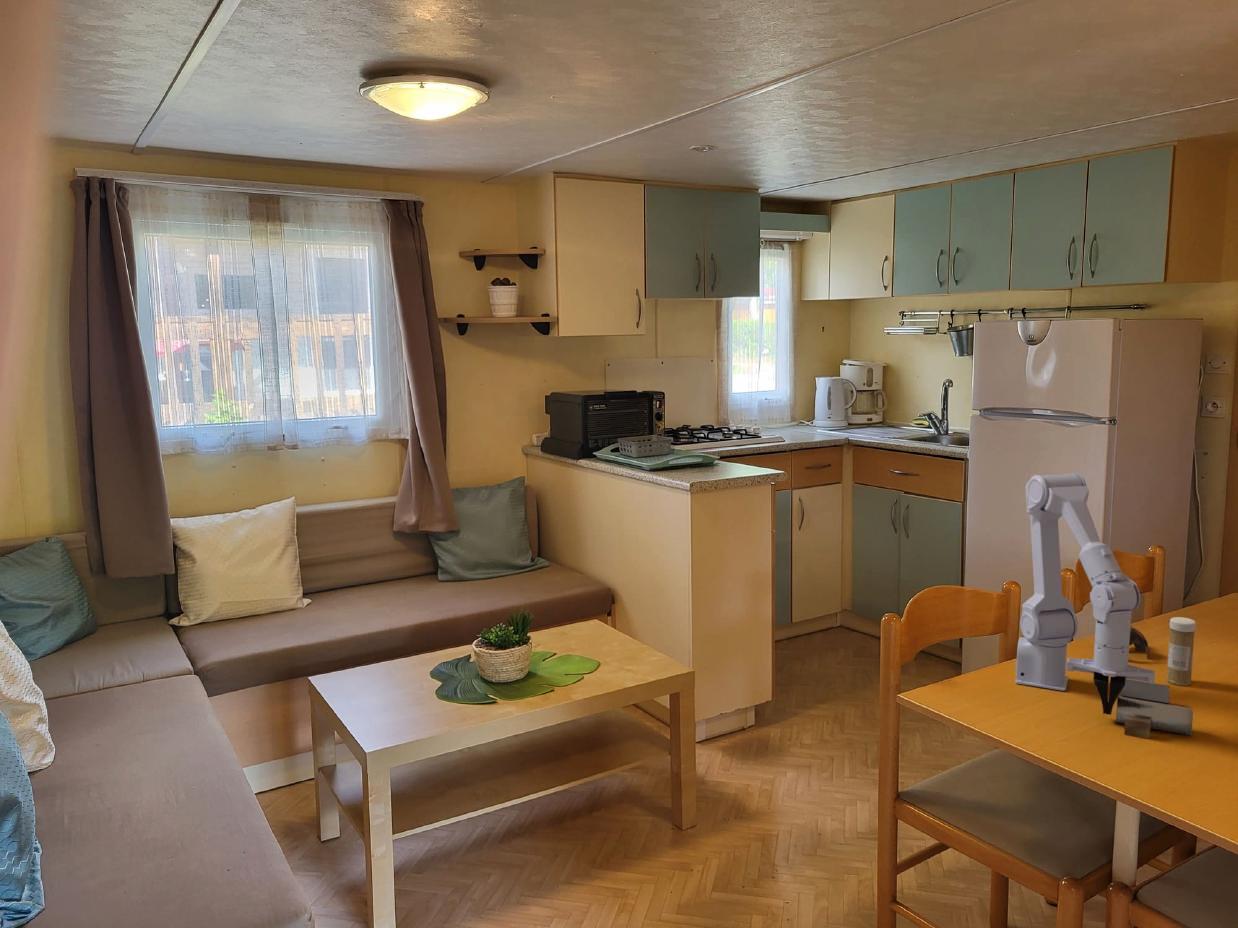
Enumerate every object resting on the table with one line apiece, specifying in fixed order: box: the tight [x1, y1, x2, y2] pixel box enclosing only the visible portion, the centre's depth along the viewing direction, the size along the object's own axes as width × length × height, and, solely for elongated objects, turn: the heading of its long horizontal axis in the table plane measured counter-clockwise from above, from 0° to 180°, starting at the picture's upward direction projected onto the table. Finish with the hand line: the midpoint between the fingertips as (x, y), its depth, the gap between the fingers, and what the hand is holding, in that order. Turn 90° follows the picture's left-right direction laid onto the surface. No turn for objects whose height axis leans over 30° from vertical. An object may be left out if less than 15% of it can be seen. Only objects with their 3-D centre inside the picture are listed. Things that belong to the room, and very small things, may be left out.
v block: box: [1120, 679, 1170, 705], centre depth 181 cm, size 8×8×4 cm
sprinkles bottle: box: [1166, 616, 1197, 687], centre depth 191 cm, size 5×5×14 cm
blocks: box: [1123, 715, 1151, 740], centre depth 173 cm, size 4×10×3 cm, turn 150°
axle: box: [1115, 695, 1194, 736], centre depth 172 cm, size 12×5×5 cm, turn 60°
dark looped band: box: [1129, 625, 1151, 660], centre depth 209 cm, size 12×10×8 cm
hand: (1107, 712), depth 175 cm, fingers closed
